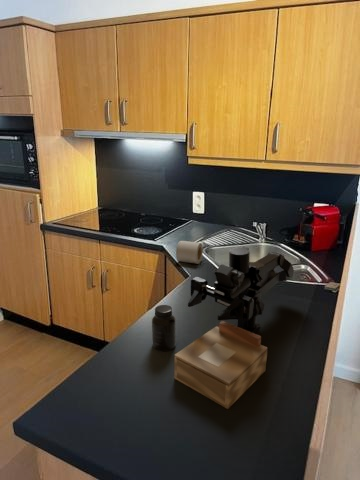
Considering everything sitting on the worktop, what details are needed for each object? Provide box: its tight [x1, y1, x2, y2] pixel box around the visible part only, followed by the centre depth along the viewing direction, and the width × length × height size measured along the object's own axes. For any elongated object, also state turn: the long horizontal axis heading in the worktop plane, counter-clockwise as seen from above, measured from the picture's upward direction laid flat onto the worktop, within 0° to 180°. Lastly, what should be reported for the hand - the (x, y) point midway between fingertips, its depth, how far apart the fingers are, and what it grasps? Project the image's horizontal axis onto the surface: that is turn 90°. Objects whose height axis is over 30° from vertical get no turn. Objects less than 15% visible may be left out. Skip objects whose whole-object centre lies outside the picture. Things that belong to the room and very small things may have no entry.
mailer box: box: [173, 350, 268, 410], centre depth 91 cm, size 18×16×6 cm
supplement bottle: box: [151, 304, 177, 352], centre depth 102 cm, size 7×7×12 cm
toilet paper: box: [175, 240, 204, 265], centre depth 171 cm, size 10×10×10 cm
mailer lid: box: [174, 320, 268, 385], centre depth 89 cm, size 18×16×3 cm
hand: (202, 311), depth 91 cm, fingers open, 9 cm apart
